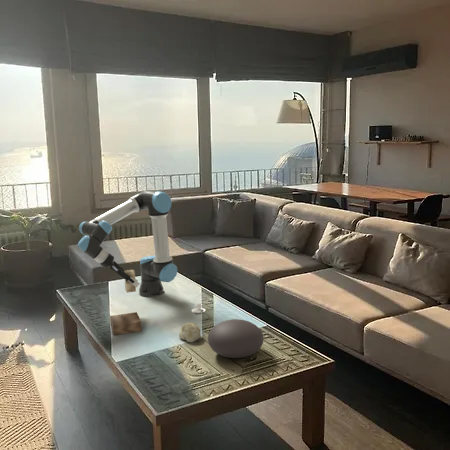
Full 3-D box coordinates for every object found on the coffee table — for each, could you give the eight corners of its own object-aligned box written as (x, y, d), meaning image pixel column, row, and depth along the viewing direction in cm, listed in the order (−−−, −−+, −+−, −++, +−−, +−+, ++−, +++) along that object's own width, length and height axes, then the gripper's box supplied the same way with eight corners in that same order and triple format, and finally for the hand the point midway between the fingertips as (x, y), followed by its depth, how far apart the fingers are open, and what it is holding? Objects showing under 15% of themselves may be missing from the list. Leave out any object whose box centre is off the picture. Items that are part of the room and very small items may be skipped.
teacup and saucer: (198, 315, 270) (198, 308, 269) (187, 312, 274) (187, 305, 273) (208, 310, 276) (208, 303, 276) (197, 307, 281) (197, 300, 280)
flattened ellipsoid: (246, 372, 205) (246, 338, 202) (197, 358, 218) (196, 326, 215) (273, 349, 226) (273, 318, 223) (226, 338, 239) (226, 308, 236)
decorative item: (209, 329, 239) (194, 327, 232) (202, 346, 239) (187, 344, 232) (193, 319, 248) (178, 317, 240) (186, 336, 247) (172, 334, 240)
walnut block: (137, 321, 263) (136, 312, 262) (141, 330, 250) (141, 321, 249) (110, 324, 258) (109, 315, 257) (113, 335, 245) (113, 325, 244)
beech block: (134, 288, 273) (133, 269, 271) (136, 291, 268) (134, 271, 266) (125, 289, 271) (124, 270, 269) (126, 292, 267) (125, 273, 265)
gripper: (97, 259, 270) (130, 284, 278) (101, 268, 253) (135, 294, 262) (107, 249, 271) (138, 274, 279) (110, 256, 254) (144, 283, 262)
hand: (137, 283), depth 270 cm, fingers closed on beech block, 5 cm apart
